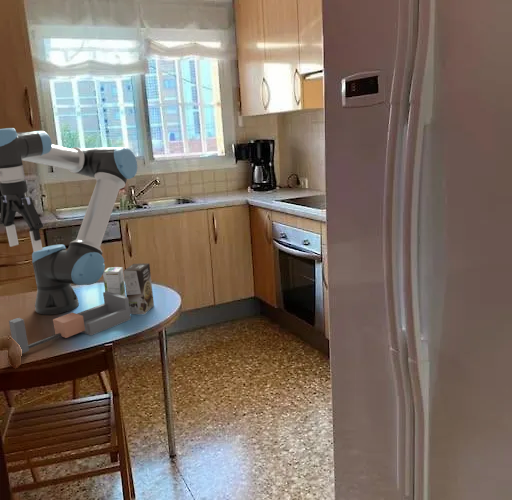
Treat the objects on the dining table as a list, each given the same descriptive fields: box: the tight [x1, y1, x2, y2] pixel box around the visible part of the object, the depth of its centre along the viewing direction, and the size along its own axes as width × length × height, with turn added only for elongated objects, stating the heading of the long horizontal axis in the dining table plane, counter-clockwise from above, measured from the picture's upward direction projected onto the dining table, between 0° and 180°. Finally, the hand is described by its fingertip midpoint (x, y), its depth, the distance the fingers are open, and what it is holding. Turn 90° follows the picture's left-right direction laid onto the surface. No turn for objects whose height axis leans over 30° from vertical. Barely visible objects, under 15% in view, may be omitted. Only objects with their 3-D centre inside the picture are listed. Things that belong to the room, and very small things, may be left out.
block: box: [8, 312, 85, 354], centre depth 170 cm, size 6×22×10 cm, turn 141°
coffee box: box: [123, 262, 155, 316], centre depth 194 cm, size 9×6×16 cm
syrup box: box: [102, 266, 126, 296], centre depth 199 cm, size 6×6×14 cm
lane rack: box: [76, 291, 132, 336], centre depth 185 cm, size 12×16×8 cm
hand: (25, 247), depth 173 cm, fingers open, 13 cm apart
